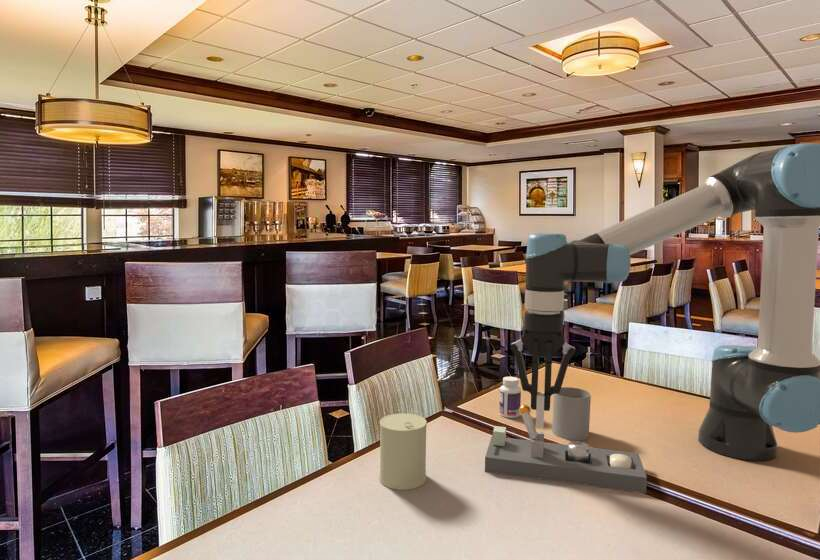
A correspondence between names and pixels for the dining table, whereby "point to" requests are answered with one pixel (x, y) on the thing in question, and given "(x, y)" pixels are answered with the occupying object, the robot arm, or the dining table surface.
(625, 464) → the ivory button
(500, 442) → the slider
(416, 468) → the can
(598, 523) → the dining table surface
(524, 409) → the lever
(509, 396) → the pill bottle
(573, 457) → the grey button
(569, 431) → the cup
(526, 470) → the panel
